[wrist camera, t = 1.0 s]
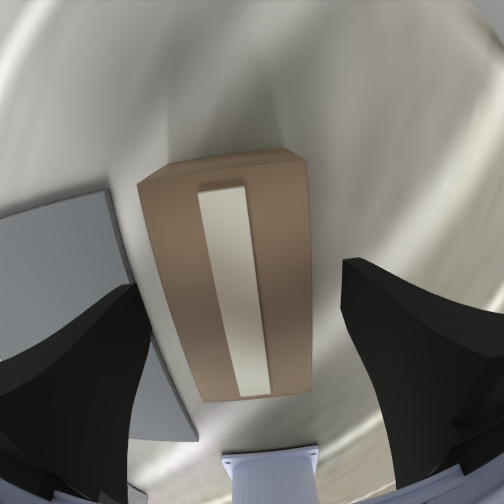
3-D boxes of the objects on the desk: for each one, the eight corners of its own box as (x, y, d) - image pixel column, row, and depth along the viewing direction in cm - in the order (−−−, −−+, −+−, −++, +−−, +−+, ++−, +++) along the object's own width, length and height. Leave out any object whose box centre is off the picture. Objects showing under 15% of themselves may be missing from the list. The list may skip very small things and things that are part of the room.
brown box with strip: (296, 331, 15) (311, 395, 11) (209, 341, 15) (202, 406, 11) (283, 147, 11) (307, 161, 7) (169, 163, 11) (134, 185, 7)
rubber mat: (198, 436, 19) (198, 441, 18) (53, 421, 19) (52, 425, 18) (108, 188, 11) (104, 191, 11) (-52, 237, 11) (-56, 240, 11)
